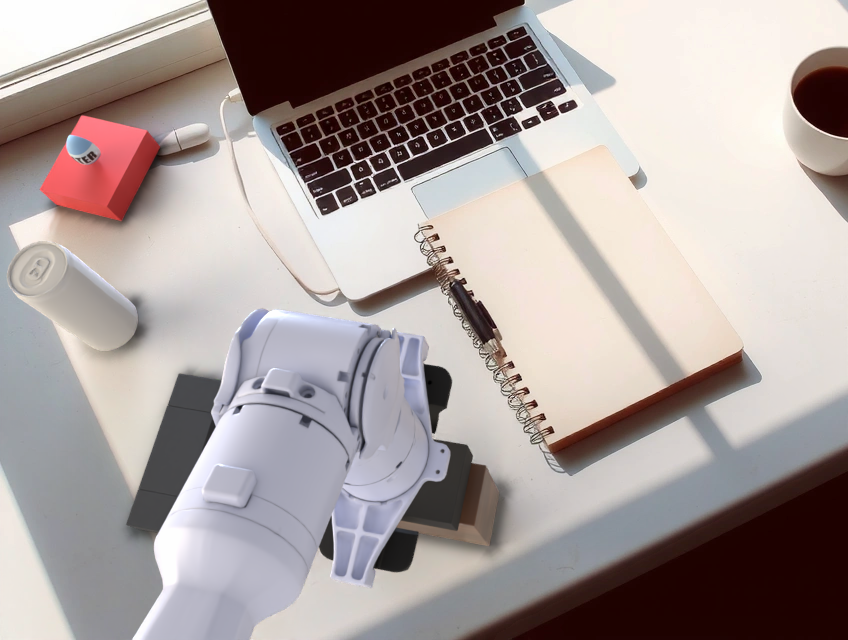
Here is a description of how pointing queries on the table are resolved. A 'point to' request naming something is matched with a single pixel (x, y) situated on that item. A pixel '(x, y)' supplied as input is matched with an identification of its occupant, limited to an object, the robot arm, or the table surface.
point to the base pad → (175, 450)
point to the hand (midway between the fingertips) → (408, 482)
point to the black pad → (443, 492)
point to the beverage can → (72, 295)
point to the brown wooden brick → (470, 511)
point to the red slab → (100, 167)
